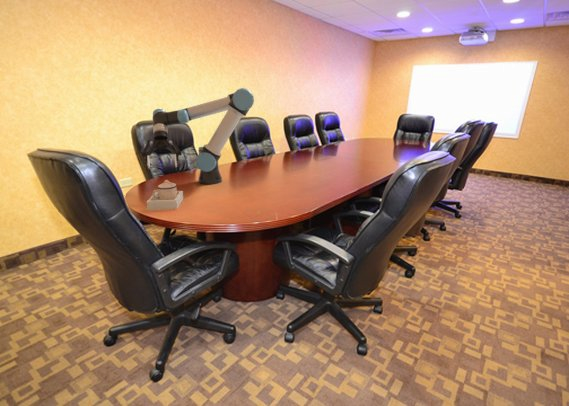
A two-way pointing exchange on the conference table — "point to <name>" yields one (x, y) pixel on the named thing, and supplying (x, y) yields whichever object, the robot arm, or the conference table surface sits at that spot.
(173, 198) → the teacup with lid
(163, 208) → the white open tray
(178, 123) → the robot arm
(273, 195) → the conference table surface
